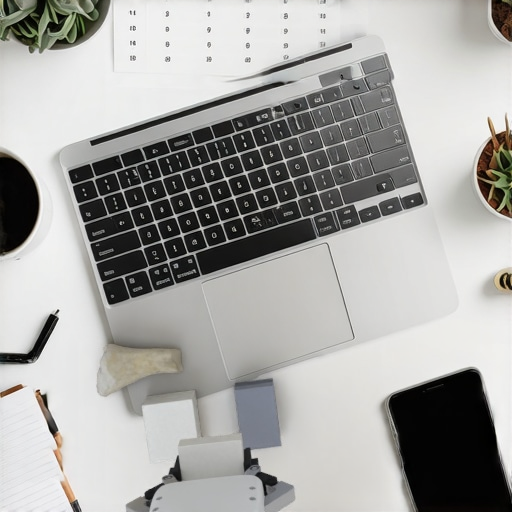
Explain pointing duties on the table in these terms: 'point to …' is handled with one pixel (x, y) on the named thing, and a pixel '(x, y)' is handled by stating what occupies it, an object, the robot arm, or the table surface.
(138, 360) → the stone
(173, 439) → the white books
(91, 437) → the table surface
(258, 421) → the grey-blue block
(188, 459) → the white book
